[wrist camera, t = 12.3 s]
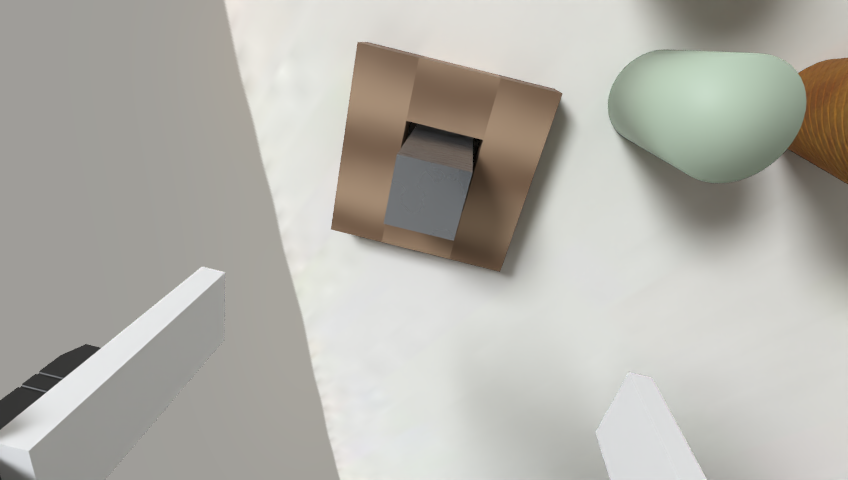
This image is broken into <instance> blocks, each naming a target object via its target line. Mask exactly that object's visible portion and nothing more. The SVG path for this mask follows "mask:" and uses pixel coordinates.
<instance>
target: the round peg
mask: <svg viewBox="0 0 848 480" xmlns="http://www.w3.org/2000/svg"><path fill="white" fill-rule="evenodd" d="M805 111H806V91H805V87H804V84H803V82H802V79H801V77H800V76H799V74H798V73H797V71H796V70H795V69H794V68H793V67H792V66H791V65H790V64H789V63H787V62H786V61H784V60H782V59H780V58H778V57H776V56H772V55H769V54H762V53H742V52H715V51H689V50H656V51H652V52H648V53H646V54H643V55H641V56H640V57H638V58H636V59H635V60H633V61H632V62H630V63H629V64H628V65H627V66H626V67H625V68H624V69H623V70H622V71H621V72H620V74H619V75H618V77H617V78H616V80H615V82H614V83H613V86H612V88H611V91H610V94H609V99H608V113H609V117H610V120H611V123H612V125H613V126H614V128H615V129H616V130H617V132H618V133H619V134H621V135H622V136H623V137H625V138H626V139H628V140H630V141H631V142H633V143H635V144H636V145H638V146H640V147H641V148H643V149H645V150H647V151H648V152H650V153H652V154H653V155H655V156H657V157H658V158H660V159H662V160H664V161H665V162H667V163H669V164H670V165H672V166H674V167H676V168H677V169H679V170H681V171H682V172H684V173H686V174H687V175H689V176H691V177H693V178H695V179H697V180H700V181H704V182H709V183H728V182H734V181H739V180H742V179H745V178H748V177H750V176H752V175H754V174H756V173H758V172H760V171H762V170H764V169H765V168H766V167H768V166H769V165H771V164H772V163H773V162H774V161H776V160H777V159H778V158H779V157H780V156H781V155H782V154H783V153H784V152H785V151H786V150H787V148H788V147H789V146H790V145H791V143H792V142H793V140H794V139H795V137H796V136H797V134H798V132H799V130H800V128H801V125H802V122H803V119H804V115H805Z"/></svg>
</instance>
